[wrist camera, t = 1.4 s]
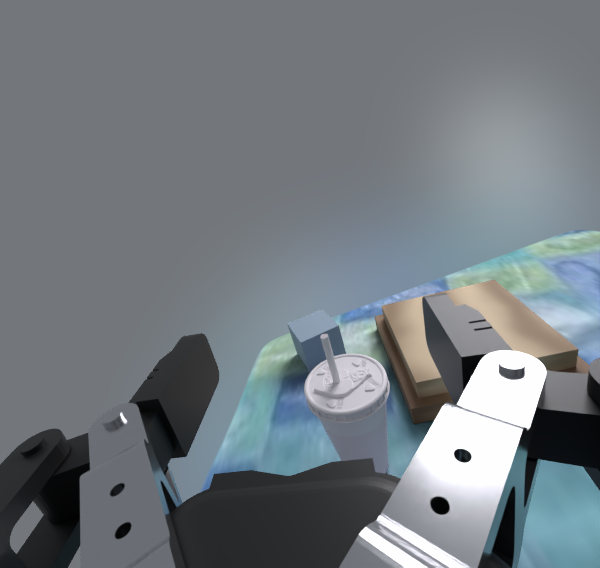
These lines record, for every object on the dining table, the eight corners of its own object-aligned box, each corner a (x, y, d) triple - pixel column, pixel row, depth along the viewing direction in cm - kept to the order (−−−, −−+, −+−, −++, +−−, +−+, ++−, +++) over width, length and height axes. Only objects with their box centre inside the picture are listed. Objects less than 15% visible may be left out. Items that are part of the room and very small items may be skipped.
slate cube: (330, 339, 47) (321, 308, 45) (347, 357, 43) (338, 325, 41) (297, 354, 46) (287, 323, 44) (311, 375, 42) (300, 342, 40)
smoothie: (323, 444, 33) (282, 324, 27) (387, 423, 33) (360, 299, 27) (342, 511, 27) (294, 377, 21) (419, 485, 27) (394, 345, 21)
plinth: (498, 301, 45) (498, 274, 43) (594, 389, 30) (599, 354, 29) (377, 328, 46) (372, 303, 45) (413, 424, 32) (408, 392, 30)
